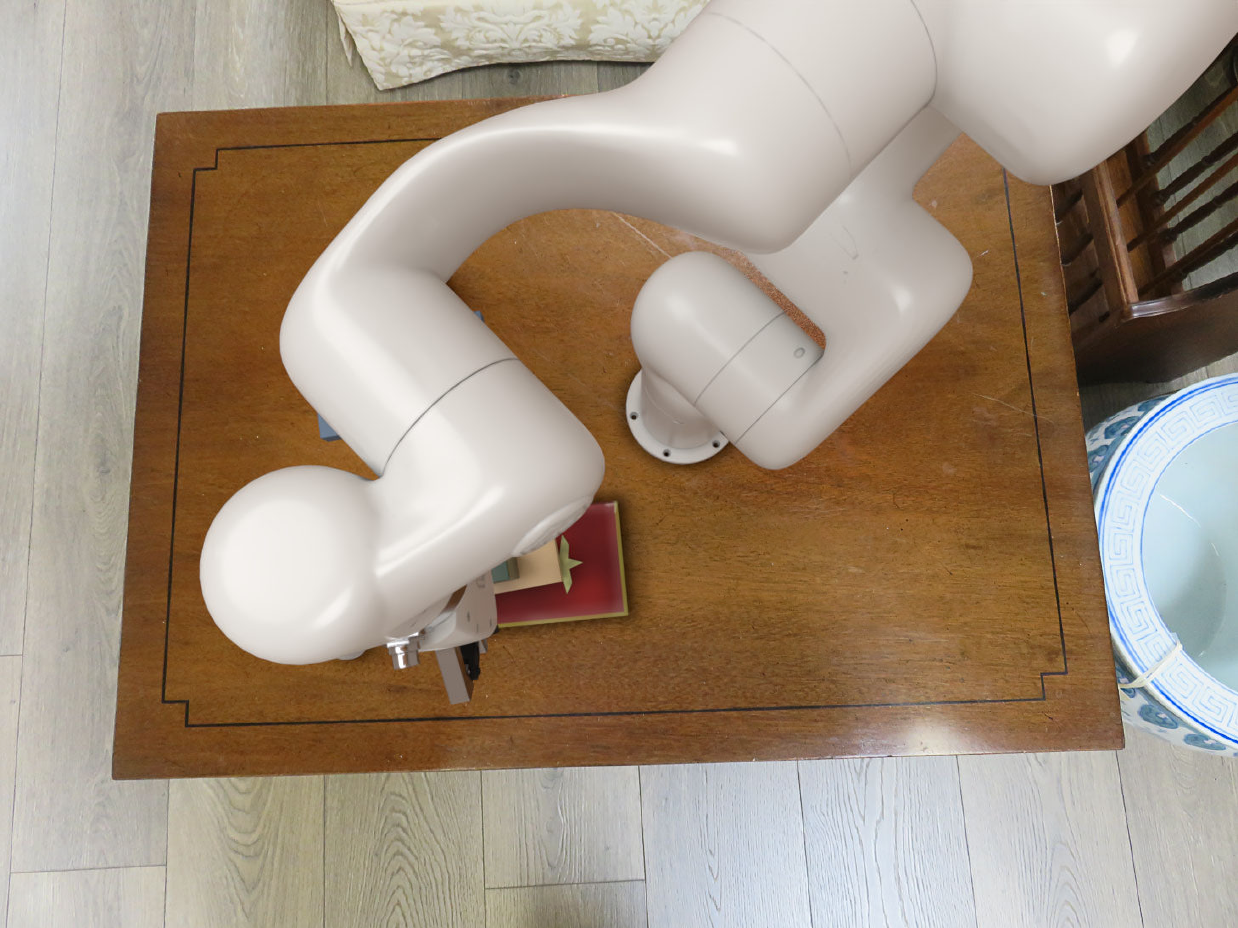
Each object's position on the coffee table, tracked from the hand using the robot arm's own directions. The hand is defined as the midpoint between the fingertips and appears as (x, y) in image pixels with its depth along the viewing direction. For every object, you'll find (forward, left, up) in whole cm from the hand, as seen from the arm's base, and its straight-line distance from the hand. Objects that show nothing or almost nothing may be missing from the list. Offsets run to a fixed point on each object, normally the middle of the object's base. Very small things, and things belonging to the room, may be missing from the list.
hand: (468, 566), depth 55 cm
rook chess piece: (+19, +4, -24) cm, 31 cm away
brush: (0, 0, -20) cm, 20 cm away
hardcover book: (-1, 0, -24) cm, 25 cm away
